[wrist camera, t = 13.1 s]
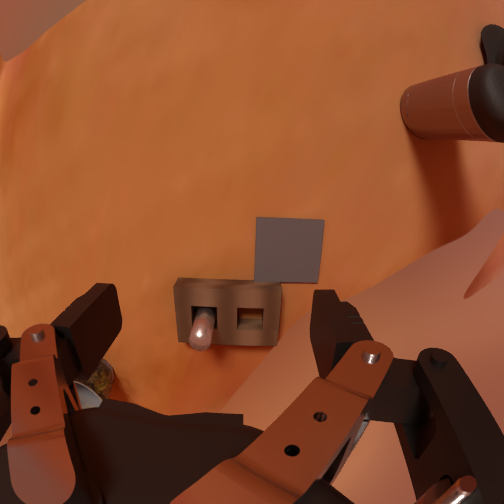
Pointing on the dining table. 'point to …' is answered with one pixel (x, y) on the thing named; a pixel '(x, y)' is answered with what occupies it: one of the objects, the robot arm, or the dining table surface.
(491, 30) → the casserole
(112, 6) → the dining table surface
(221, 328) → the socket block
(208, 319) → the pin
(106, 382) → the ceramic cup
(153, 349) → the dining table surface
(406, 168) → the dining table surface
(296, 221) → the mat
